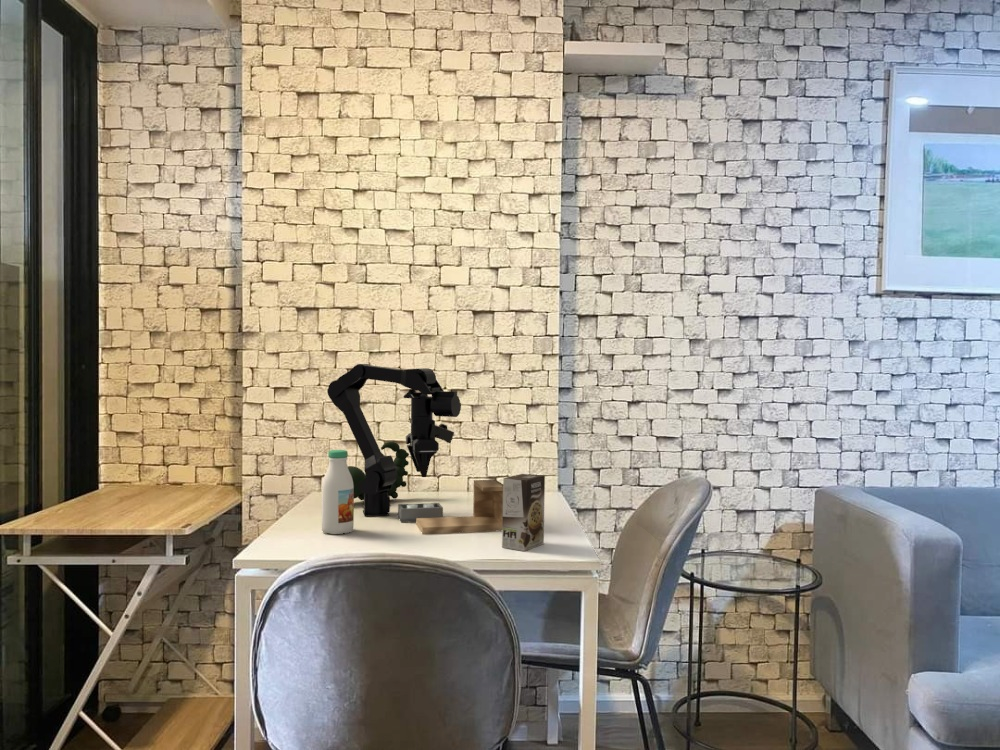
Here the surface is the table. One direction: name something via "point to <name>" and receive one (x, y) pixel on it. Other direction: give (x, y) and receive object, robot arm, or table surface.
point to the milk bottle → (337, 495)
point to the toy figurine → (400, 464)
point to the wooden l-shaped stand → (484, 512)
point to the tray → (419, 511)
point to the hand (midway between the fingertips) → (421, 474)
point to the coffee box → (523, 511)
